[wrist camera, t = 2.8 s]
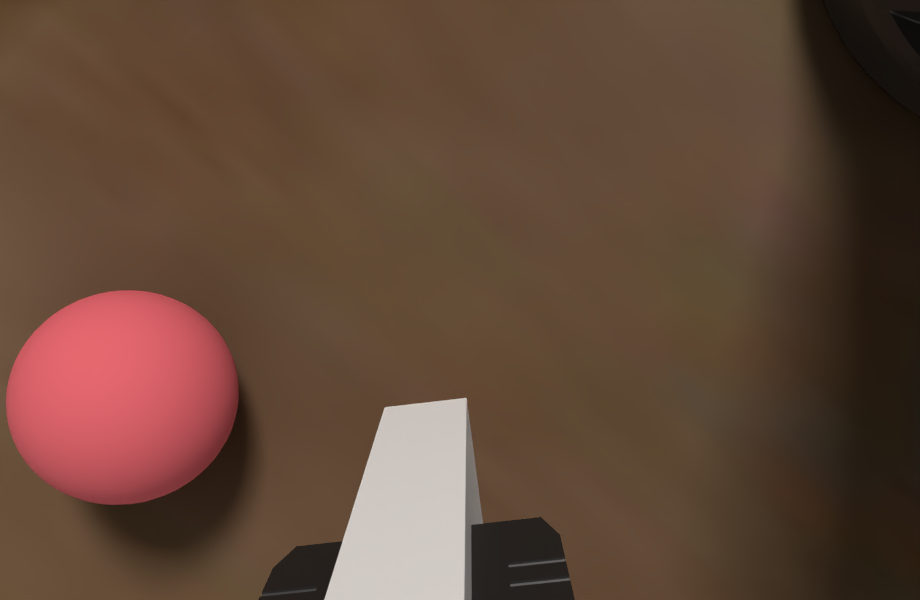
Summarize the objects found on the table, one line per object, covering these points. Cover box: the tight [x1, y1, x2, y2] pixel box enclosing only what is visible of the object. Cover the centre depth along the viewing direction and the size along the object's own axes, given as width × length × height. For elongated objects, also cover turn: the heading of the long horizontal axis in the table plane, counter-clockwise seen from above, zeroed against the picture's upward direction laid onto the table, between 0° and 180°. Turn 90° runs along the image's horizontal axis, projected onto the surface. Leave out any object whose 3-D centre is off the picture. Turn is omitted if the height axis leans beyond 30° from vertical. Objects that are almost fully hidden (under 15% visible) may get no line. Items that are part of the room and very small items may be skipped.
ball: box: [6, 290, 239, 505], centre depth 21 cm, size 6×6×6 cm
